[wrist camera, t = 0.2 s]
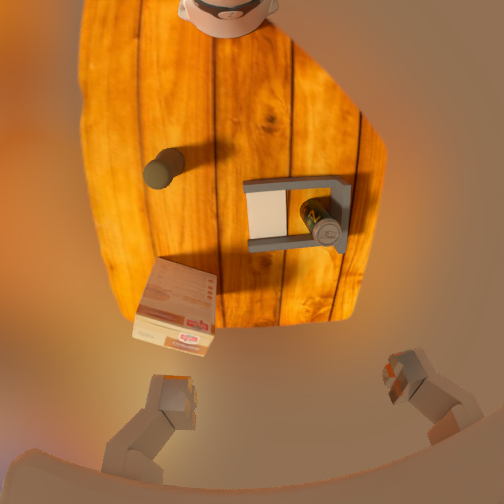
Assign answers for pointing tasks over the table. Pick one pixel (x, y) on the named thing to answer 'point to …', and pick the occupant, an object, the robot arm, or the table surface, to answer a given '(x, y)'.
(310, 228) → the beer can
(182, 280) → the coffeecake box
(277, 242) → the bay
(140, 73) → the table surface
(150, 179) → the cork
